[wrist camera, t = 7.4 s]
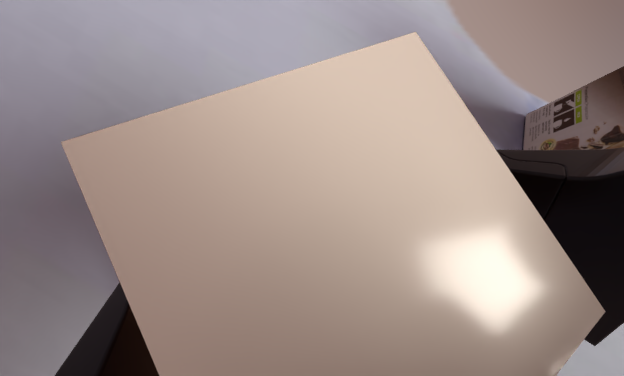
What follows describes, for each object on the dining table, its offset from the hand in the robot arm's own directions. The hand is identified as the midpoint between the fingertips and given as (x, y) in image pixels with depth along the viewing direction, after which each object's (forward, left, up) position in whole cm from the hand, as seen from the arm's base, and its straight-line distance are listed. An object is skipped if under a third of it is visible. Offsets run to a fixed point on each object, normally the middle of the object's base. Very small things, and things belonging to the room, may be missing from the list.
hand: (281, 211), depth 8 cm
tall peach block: (-1, 0, -8) cm, 8 cm away
